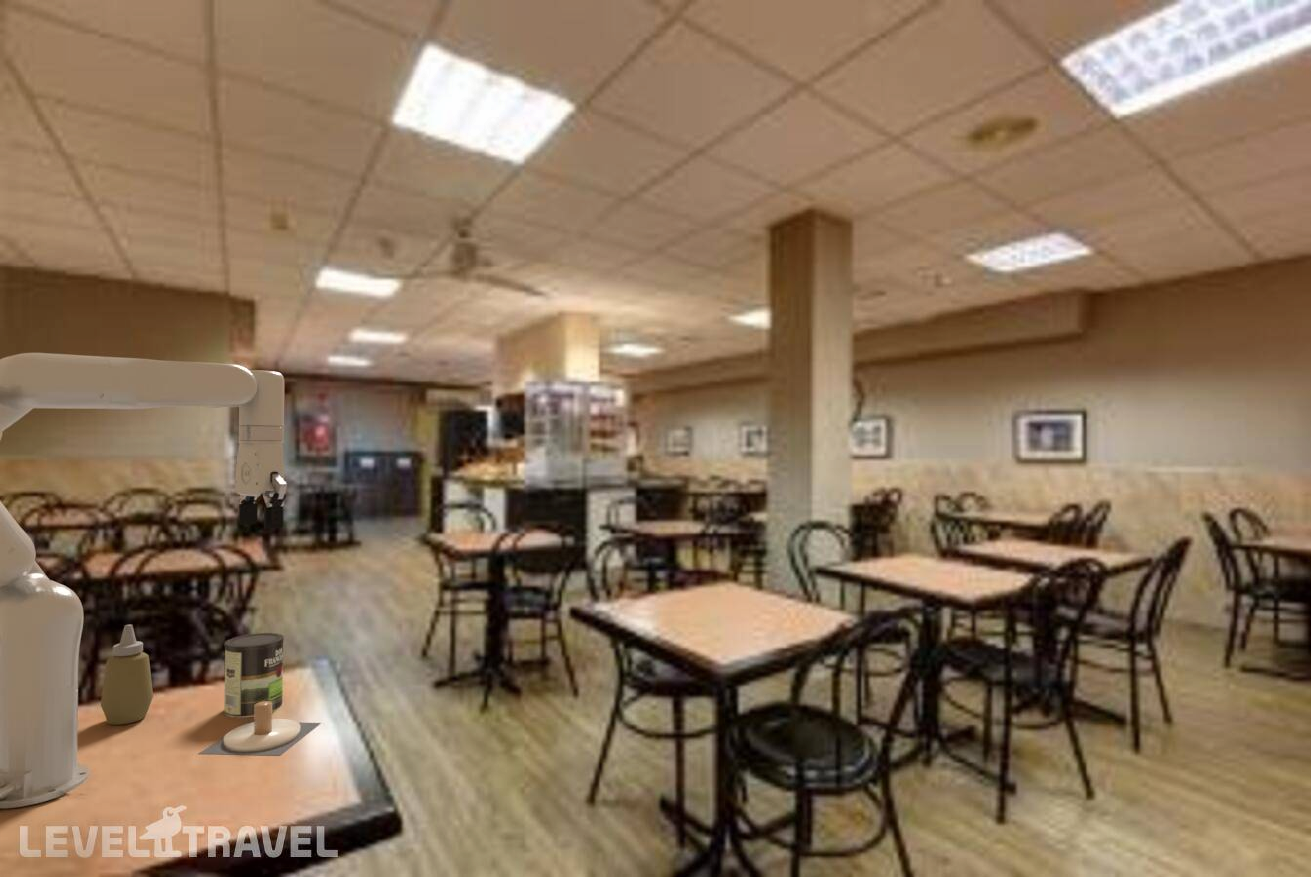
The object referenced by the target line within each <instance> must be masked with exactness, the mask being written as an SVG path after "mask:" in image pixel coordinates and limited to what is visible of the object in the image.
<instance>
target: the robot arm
mask: <svg viewBox="0 0 1311 877" xmlns="http://www.w3.org/2000/svg"><path fill="white" fill-rule="evenodd" d="M163 407H164V408H165V407H166V408H167V407H205V408H210V409H211V408H212V409H220V408H238V444H239V446H238V450H237V456H236V463H235V464H236V465H235V477H234V478H235V480H234V482H235V484H234V491H235V493H236V494H237V495H238V501H237V502H238V523H239V525H240V526H243V525H244V526H245V525H246V526H247V525H255V524H257V523H258V520H259V519H258V516H259V515H258V513H259V510H258V508H259V507H258V506H259V505H258V504H259V503H258V502H257V499H258V497H260V496H261V495H262V497H263V500H264V503H265V506H264V507H263V528H264V529H265V530H271V529H281V528H283V526H284V523H283V522H284V521H283V519H284V516H283V515H284V507H285V499H286V496H287V495H286V492H287V488H288V483H287V482H286V481H285V464H284V462H285V461H284V450H283V444H285V438H284V436H285V427H284V426H285V378H284V376H283V374H282V373H280V372H278V371H273V370H262V369H261V370H259V369H254V370H253V369H251V370H249V369H247V368H245V367H244V366H241V365H239V364H233V363H218V362H217V363H216V362H202V361H201V362H199V361H182V360H181V361H180V360H179V361H178V360H158V359H150V358H140V357H139V358H135V357H117V356H115V357H114V356H100V355H82V354H81V355H80V354H65V353H47V352H25V353H24V352H23V353H18V354H17V353H16V354H14V355H9V356H6V357H2V358H0V442H1V440H2V437H3V432H4V431H6V429H8V428H9V427H10V426H12V425H14V424H15V423H16V422H18V421H19V420H20V419H21V418H23V417H24V416H26V415H27V414H29V412H31V411H32V410H33V409H60V410H62V409H64V410H65V409H67V410H68V409H70V410H71V409H74V410H75V409H76V410H78V409H79V410H80V409H81V410H83V409H84V410H86V409H87V410H88V409H89V410H91V409H92V410H93V409H94V410H95V409H96V410H107V409H108V410H146V409H155V408H163ZM36 557H37V556H36V548H35V544H34V542H33V540H32V538H31V537H30V536H29V535H28V533H26V531H25V530H24V529H23V528H22V527H21V526H20V525H19V523H18V522H17V520H15V518H14V517H13V515H12V514H11V513H10V512H9V510H8V509H7V508H6V506H5V505H4V504H3V502H2V500H0V809H14V808H22V807H28V806H33V805H36V804H40V803H44V802H45V803H46V802H48V801H51V800H53V799H57V798H60V797H63V796H64V795H67V794H68V792H70V791H72V790H74V789H76V788H77V787H79V786H81V785H82V784H83V783H85V782H86V781H87V780H88V779H89V777H90V768H89V767H88V766H86V765H84V764H81V763H78V732H79V731H78V730H79V729H78V728H79V727H78V722H79V721H78V719H79V718H78V717H79V715H78V714H79V658H80V657H79V655H80V647H81V646H80V645H81V638H82V633H83V627H84V607H83V605H82V602H81V600H80V598H79V596H78V595H77V593H76V592H74V591H73V590H72V589H71V588H69V587H67V585H64V584H61V583H59V582H58V581H54V580H52V579H50V578H49V577H48V576H47V575H46V573H45V572H44V571H43V569H42V568H41V567H40V566H39V564H38V563H37V562H36Z"/></svg>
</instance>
